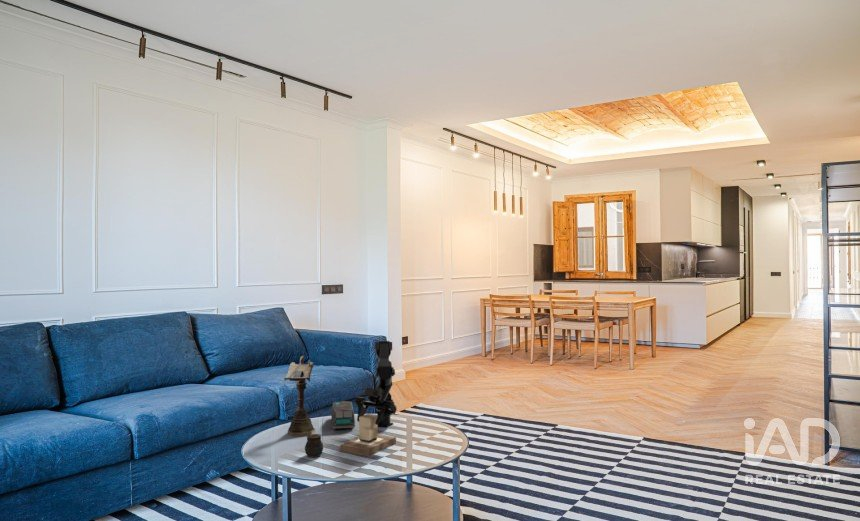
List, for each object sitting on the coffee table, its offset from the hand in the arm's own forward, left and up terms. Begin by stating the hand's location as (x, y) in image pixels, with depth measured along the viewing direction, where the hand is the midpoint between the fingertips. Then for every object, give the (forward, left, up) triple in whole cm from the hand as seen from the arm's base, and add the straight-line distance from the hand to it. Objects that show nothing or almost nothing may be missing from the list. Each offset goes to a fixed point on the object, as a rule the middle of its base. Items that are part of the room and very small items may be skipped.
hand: (366, 422), depth 243 cm
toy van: (-24, -32, -11) cm, 41 cm away
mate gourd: (+19, -12, -10) cm, 25 cm away
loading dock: (-1, 0, -10) cm, 10 cm away
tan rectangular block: (-1, 0, -7) cm, 8 cm away
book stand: (-1, -37, -10) cm, 38 cm away
